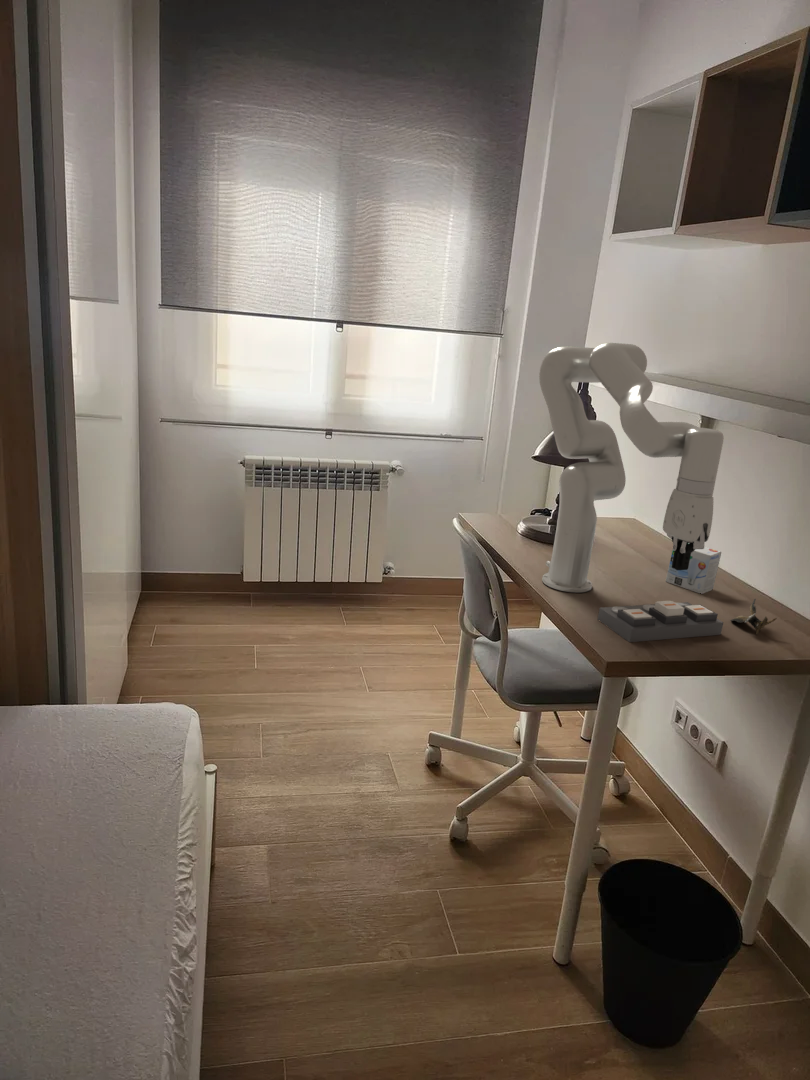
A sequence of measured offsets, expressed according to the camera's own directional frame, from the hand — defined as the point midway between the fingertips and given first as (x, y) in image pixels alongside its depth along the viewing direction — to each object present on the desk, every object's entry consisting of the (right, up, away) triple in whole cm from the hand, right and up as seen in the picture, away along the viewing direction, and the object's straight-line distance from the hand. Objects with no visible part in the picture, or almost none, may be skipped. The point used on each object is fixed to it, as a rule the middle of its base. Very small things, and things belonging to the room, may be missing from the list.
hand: (679, 568), depth 170 cm
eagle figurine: (+20, -14, +12) cm, 28 cm away
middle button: (-1, -10, +3) cm, 10 cm away
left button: (-9, -11, +1) cm, 15 cm away
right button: (+7, -11, +7) cm, 15 cm away
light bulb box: (+16, -6, +37) cm, 41 cm away
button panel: (-2, -14, +7) cm, 15 cm away
